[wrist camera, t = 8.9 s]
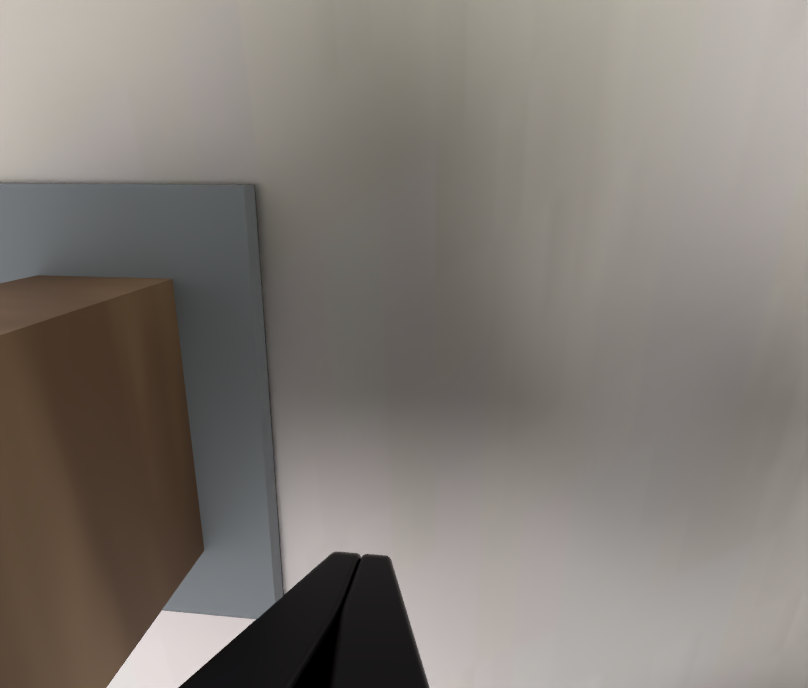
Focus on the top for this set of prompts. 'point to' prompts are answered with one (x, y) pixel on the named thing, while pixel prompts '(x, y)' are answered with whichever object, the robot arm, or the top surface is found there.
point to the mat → (183, 349)
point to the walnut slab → (90, 474)
